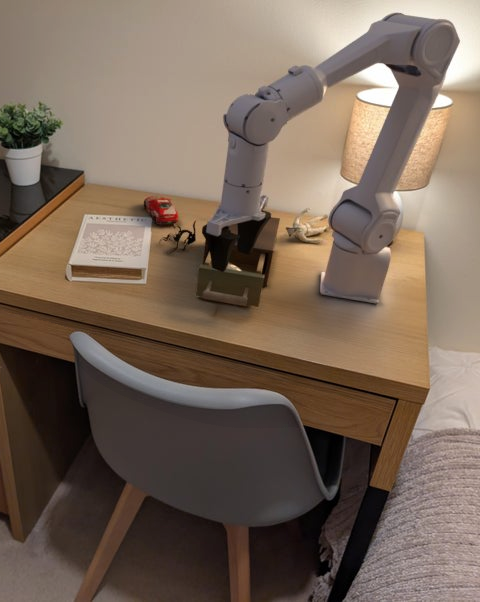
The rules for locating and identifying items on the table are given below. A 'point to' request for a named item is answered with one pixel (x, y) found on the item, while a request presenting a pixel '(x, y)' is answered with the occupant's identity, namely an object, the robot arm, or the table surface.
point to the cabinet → (259, 244)
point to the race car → (161, 210)
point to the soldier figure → (307, 228)
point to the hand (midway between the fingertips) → (231, 260)
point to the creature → (190, 238)
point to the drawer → (233, 279)
